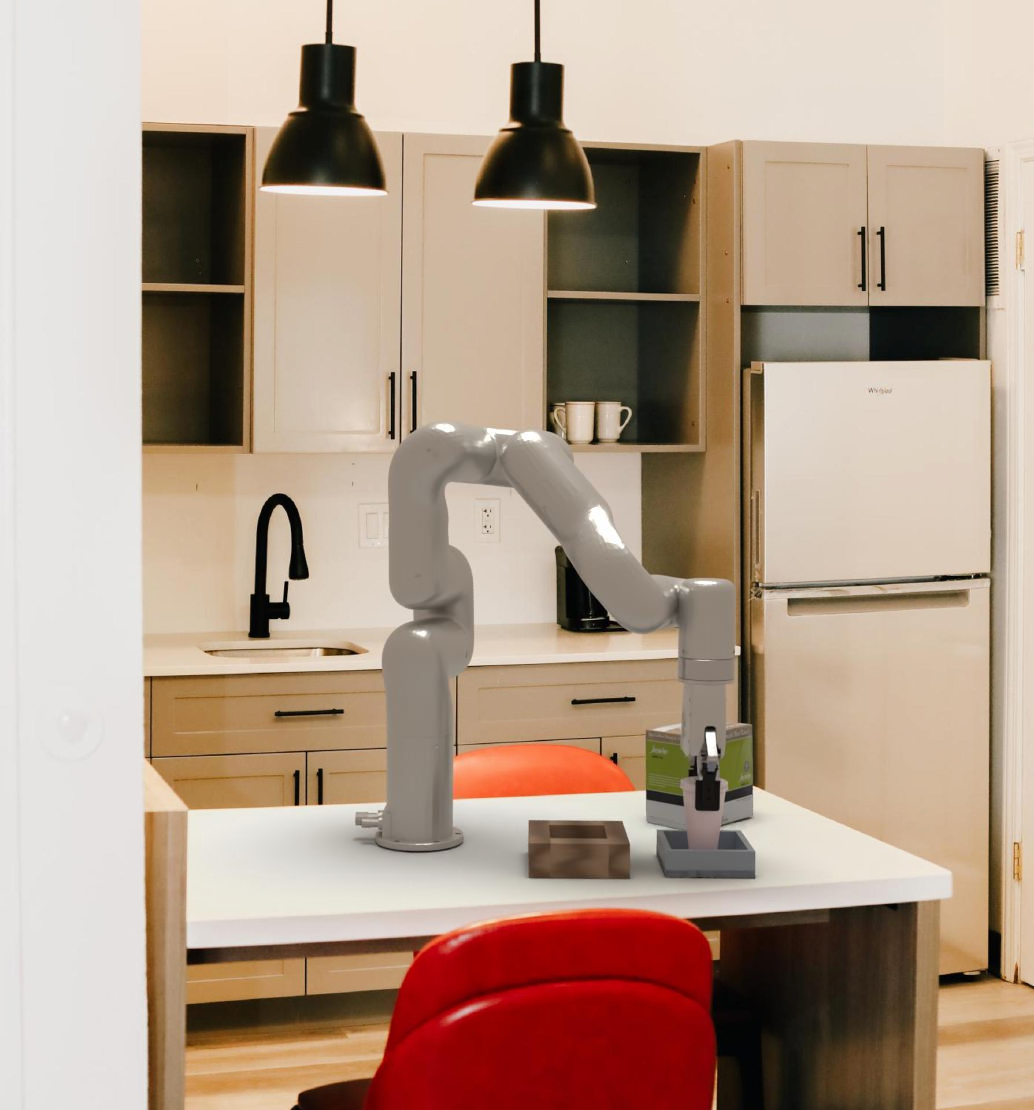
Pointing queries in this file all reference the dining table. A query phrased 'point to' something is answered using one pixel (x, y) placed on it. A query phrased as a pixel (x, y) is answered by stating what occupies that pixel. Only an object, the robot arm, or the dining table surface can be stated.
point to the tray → (705, 856)
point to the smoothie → (702, 817)
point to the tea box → (672, 766)
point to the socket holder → (578, 849)
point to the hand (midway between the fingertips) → (703, 803)
